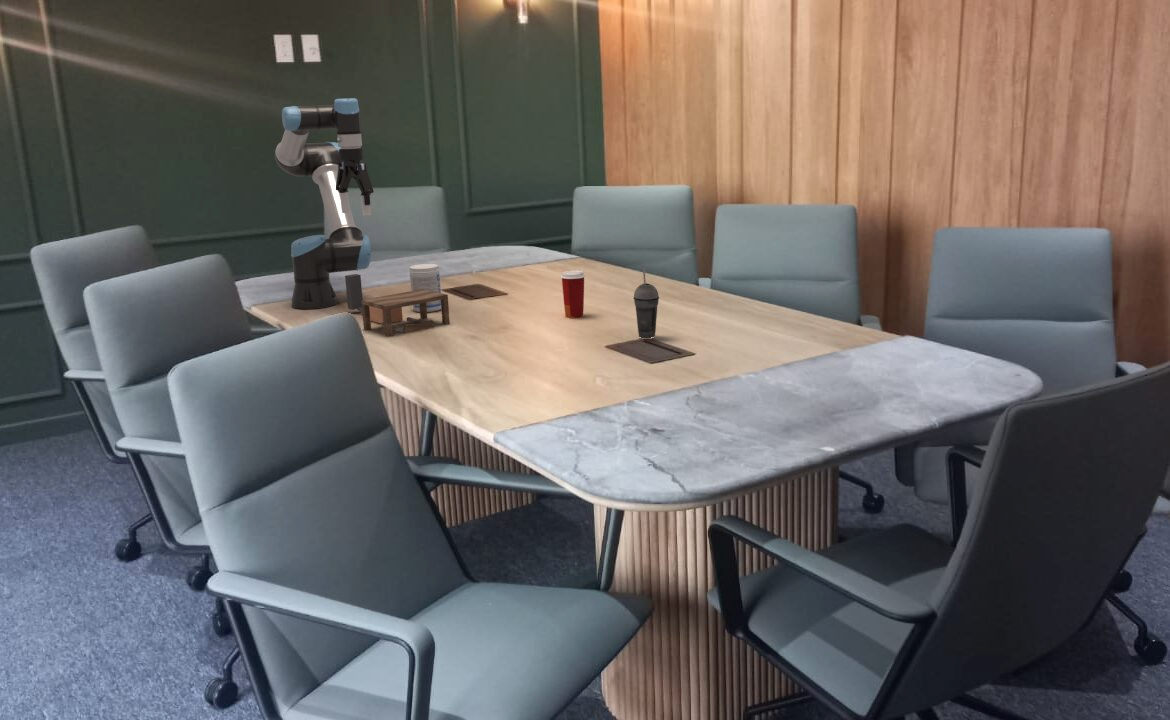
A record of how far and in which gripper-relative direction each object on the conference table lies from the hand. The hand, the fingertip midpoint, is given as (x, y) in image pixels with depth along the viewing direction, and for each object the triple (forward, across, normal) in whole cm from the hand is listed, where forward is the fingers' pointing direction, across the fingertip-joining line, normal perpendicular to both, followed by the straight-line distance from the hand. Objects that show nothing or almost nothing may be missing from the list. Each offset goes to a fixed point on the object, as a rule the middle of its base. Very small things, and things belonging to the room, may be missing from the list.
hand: (356, 214), depth 331 cm
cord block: (+31, +14, -5) cm, 35 cm away
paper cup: (+32, +63, +38) cm, 80 cm away
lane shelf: (+32, +34, -5) cm, 47 cm away
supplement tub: (+32, +18, +13) cm, 39 cm away
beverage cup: (+32, +100, +33) cm, 110 cm away
